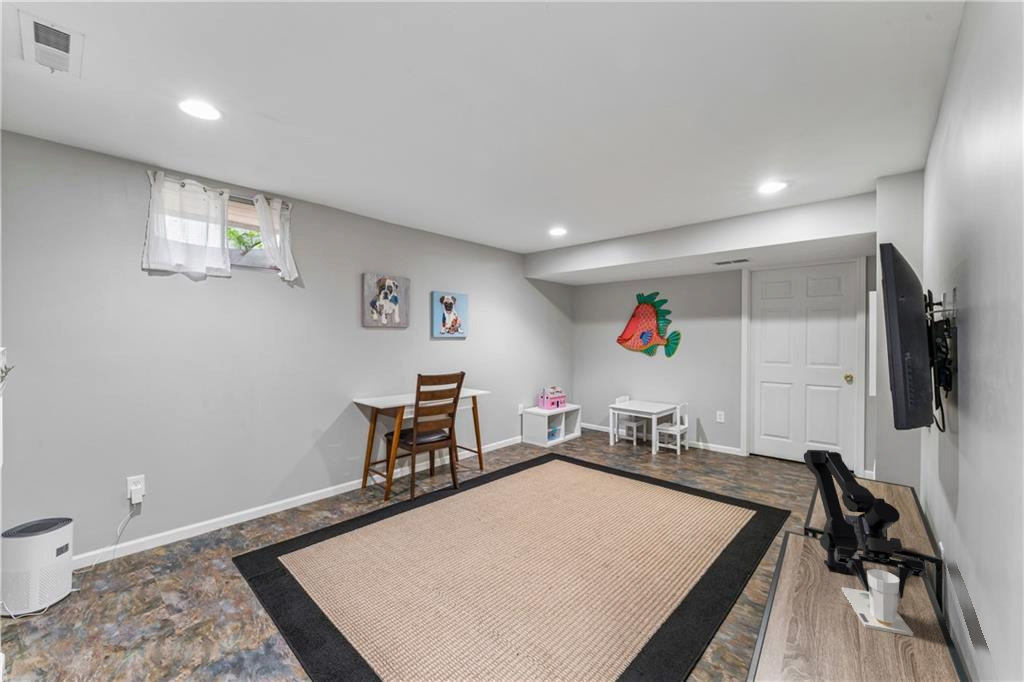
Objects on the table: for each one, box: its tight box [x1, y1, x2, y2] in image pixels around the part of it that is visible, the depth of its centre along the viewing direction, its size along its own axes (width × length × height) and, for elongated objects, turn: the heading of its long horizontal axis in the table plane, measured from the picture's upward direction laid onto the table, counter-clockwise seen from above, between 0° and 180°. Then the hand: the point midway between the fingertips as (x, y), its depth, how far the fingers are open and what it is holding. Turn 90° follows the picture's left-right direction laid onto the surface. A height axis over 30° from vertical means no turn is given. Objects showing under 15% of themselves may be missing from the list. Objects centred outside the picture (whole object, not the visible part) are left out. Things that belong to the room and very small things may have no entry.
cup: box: [866, 568, 900, 623], centre depth 114 cm, size 7×7×11 cm
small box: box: [844, 514, 888, 552], centre depth 155 cm, size 11×6×10 cm, turn 74°
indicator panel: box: [841, 586, 914, 637], centre depth 120 cm, size 18×10×1 cm, turn 158°
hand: (884, 594), depth 113 cm, fingers closed on cup, 6 cm apart
